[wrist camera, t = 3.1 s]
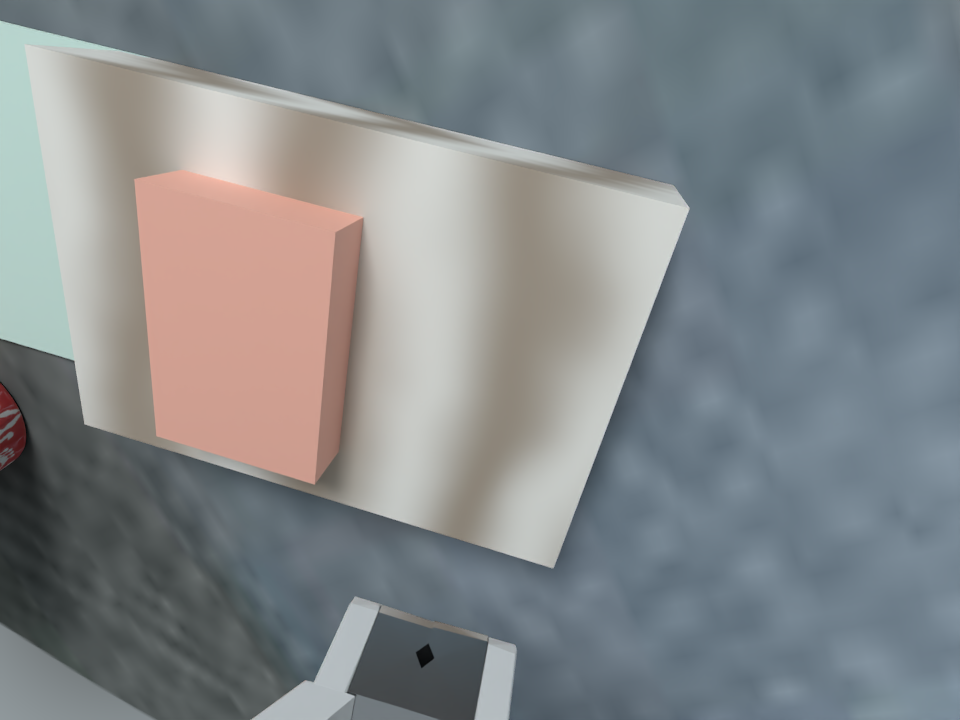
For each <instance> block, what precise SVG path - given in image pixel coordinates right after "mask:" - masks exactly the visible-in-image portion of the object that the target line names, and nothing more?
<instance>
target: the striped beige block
mask: <svg viewBox="0 0 960 720" xmlns="http://www.w3.org/2000/svg"><path fill="white" fill-rule="evenodd" d="M24 45H25V51H26V58H27V64H28V70H29V77H30V83H31V89H32V96H33V102H34V108H35V115H36V121H37V127H38V133H39V140H40V146H41V152H42V159H43V165H44V171H45V178H46V184H47V190H48V197H49V203H50V209H51V215H52V222H53V228H54V234H55V241H56V247H57V253H58V260H59V266H60V272H61V279H62V285H63V291H64V297H65V304H66V310H67V316H68V323H69V329H70V335H71V342H72V348H73V354H74V361H75V367H76V373H77V379H78V386H79V392H80V398H81V405H82V411H83V417H84V424H86V425H89V426H92V427H95V428H99V429H102V430H105V431H108V432H112V433H115V434H118V435H121V436H125V437H128V438H131V439H134V440H138V441H141V442H144V443H147V444H151V445H154V446H157V447H160V448H164V449H167V450H170V451H173V452H177V453H180V454H183V455H186V456H190V457H193V458H196V459H199V460H202V461H206V462H209V463H212V464H215V465H219V466H222V467H225V468H228V469H232V470H235V471H238V472H241V473H245V474H248V475H251V476H254V477H258V478H261V479H264V480H267V481H271V482H274V483H277V484H280V485H284V486H287V487H290V488H293V489H297V490H300V491H303V492H306V493H310V494H313V495H316V496H319V497H323V498H326V499H329V500H332V501H336V502H339V503H342V504H345V505H349V506H352V507H355V508H358V509H362V510H365V511H368V512H371V513H375V514H378V515H381V516H384V517H388V518H391V519H394V520H397V521H401V522H404V523H407V524H410V525H414V526H417V527H420V528H423V529H427V530H430V531H433V532H436V533H440V534H443V535H446V536H449V537H453V538H456V539H459V540H462V541H466V542H469V543H472V544H475V545H479V546H482V547H485V548H488V549H492V550H495V551H498V552H501V553H505V554H508V555H511V556H514V557H518V558H521V559H524V560H527V561H531V562H534V563H537V564H540V565H544V566H547V567H550V568H554V566H555V563H556V560H557V558H558V555H559V552H560V550H561V547H562V544H563V542H564V539H565V537H566V534H567V531H568V529H569V526H570V523H571V521H572V518H573V515H574V513H575V510H576V507H577V505H578V502H579V500H580V497H581V494H582V492H583V489H584V486H585V484H586V481H587V478H588V476H589V473H590V470H591V468H592V465H593V462H594V460H595V457H596V455H597V452H598V449H599V447H600V444H601V441H602V439H603V436H604V433H605V431H606V428H607V425H608V423H609V420H610V418H611V415H612V412H613V410H614V407H615V404H616V402H617V399H618V396H619V394H620V391H621V388H622V386H623V383H624V380H625V378H626V375H627V373H628V370H629V367H630V365H631V362H632V359H633V357H634V354H635V351H636V349H637V346H638V343H639V341H640V338H641V336H642V333H643V330H644V328H645V325H646V322H647V320H648V317H649V314H650V312H651V309H652V306H653V304H654V301H655V298H656V296H657V293H658V291H659V288H660V285H661V283H662V280H663V277H664V275H665V272H666V269H667V267H668V264H669V261H670V259H671V256H672V254H673V251H674V248H675V246H676V243H677V240H678V238H679V235H680V232H681V230H682V227H683V224H684V222H685V219H686V216H687V214H688V211H689V209H690V208H689V207H688V205H687V204H686V203H685V201H684V200H683V198H682V197H681V195H680V194H679V192H678V191H677V190H676V188H675V187H674V185H670V184H666V183H662V182H658V181H654V180H650V179H646V178H642V177H638V176H633V175H629V174H625V173H621V172H617V171H613V170H609V169H605V168H601V167H597V166H592V165H588V164H584V163H580V162H576V161H572V160H568V159H564V158H560V157H556V156H552V155H547V154H543V153H539V152H535V151H531V150H527V149H523V148H519V147H515V146H511V145H506V144H502V143H498V142H494V141H490V140H486V139H482V138H478V137H474V136H470V135H465V134H461V133H457V132H453V131H449V130H445V129H441V128H437V127H433V126H429V125H425V124H420V123H416V122H412V121H408V120H404V119H400V118H396V117H392V116H388V115H384V114H379V113H375V112H371V111H367V110H363V109H359V108H355V107H351V106H347V105H343V104H338V103H334V102H330V101H326V100H322V99H318V98H314V97H310V96H306V95H302V94H298V93H293V92H289V91H285V90H281V89H277V88H273V87H269V86H265V85H261V84H257V83H252V82H248V81H244V80H240V79H236V78H232V77H228V76H224V75H220V74H216V73H211V72H207V71H203V70H199V69H195V68H191V67H187V66H183V65H179V64H175V63H171V62H166V61H162V60H158V59H154V58H148V57H141V56H137V55H133V54H129V53H125V52H121V51H112V50H98V49H85V48H71V47H58V46H44V45H31V44H24ZM178 170H185V171H189V172H192V173H196V174H200V175H204V176H208V177H212V178H215V179H219V180H223V181H227V182H231V183H235V184H238V185H242V186H246V187H250V188H254V189H257V190H261V191H265V192H269V193H273V194H277V195H280V196H284V197H288V198H292V199H296V200H300V201H303V202H307V203H311V204H315V205H319V206H323V207H326V208H330V209H334V210H338V211H342V212H346V213H349V214H353V215H357V216H361V217H363V227H362V236H361V246H360V255H359V265H358V274H357V284H356V293H355V303H354V312H353V322H352V331H351V341H350V350H349V360H348V369H347V379H346V389H345V398H344V408H343V417H342V427H341V436H340V446H339V452H338V453H337V455H336V456H335V457H334V459H333V460H332V462H331V463H330V464H329V466H328V467H327V468H326V470H325V471H324V472H323V474H322V475H321V477H320V478H319V479H318V481H317V482H316V483H315V485H314V484H311V483H308V482H304V481H301V480H298V479H295V478H291V477H288V476H285V475H282V474H278V473H275V472H272V471H269V470H265V469H262V468H259V467H255V466H252V465H249V464H246V463H242V462H239V461H236V460H233V459H229V458H226V457H223V456H220V455H216V454H213V453H210V452H206V451H203V450H200V449H197V448H193V447H190V446H187V445H184V444H180V443H177V442H174V441H171V440H167V439H164V438H161V437H157V436H156V426H155V414H154V403H153V391H152V380H151V368H150V356H149V345H148V333H147V321H146V310H145V298H144V286H143V275H142V263H141V252H140V240H139V228H138V217H137V205H136V193H135V182H134V179H137V178H142V177H147V176H152V175H158V174H163V173H168V172H173V171H178Z"/></svg>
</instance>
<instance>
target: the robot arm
mask: <svg viewBox="0 0 960 720" xmlns="http://www.w3.org/2000/svg"><path fill="white" fill-rule="evenodd" d="M516 656H517V650H516V645H515V644H511V643H508V642H504V641H501V640H497V639H494V638H490V637H488V636H487V635H483V634H480V633H476V632H473V631H469V630H465V629H462V628H458V627H455V626H451V625H448V624H444V623H441V622H437V621H435V622H433V621H430V620H427V619H424V618H421V617H418V616H415V615H412V614H409V613H406V612H402V611H399V610H396V609H393V608H390V607H387V606H384V605H381V604H378V603H375V602H372V601H368V600H365V599H362V598H358V597H354V599H353V600H352V602H351V603H350V604H349V606H348V609H347V611H346V613H345V615H344V617H343V620H342V622H341V624H340V626H339V628H338V630H337V633H336V635H335V637H334V639H333V641H332V644H331V646H330V648H329V650H328V652H327V654H326V657H325V659H324V661H323V663H322V665H321V668H320V670H319V672H318V674H317V676H316V679H315V681H314V682H310V681H307V680H305V681H304V682H302V683H301V684H299V685H298V686H297V687H295V688H294V689H293V690H291V691H290V692H288V693H287V694H286V695H284V696H283V697H282V698H280V699H279V700H277V701H276V702H275V703H273V704H272V705H271V706H269V707H268V708H267V709H265V710H264V711H262V712H261V713H260V714H258V715H257V716H256V717H254V718H253V719H251V720H509V715H510V706H511V698H512V689H513V681H514V672H515V664H516Z"/></svg>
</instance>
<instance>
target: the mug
mask: <svg viewBox="0 0 960 720" xmlns="http://www.w3.org/2000/svg"><path fill="white" fill-rule="evenodd" d="M25 443H26V429H25V424H24V421H23V418H22V415H21V413H20V410H19V408H18V407H17V405H16V403H15V401H14V400H13V398H12V397H11V395H10V394H9V393H8V391H7V390H6V389H5V388H4V386H3V385H2V384H1V383H0V471H1V470H2V469H3V468H5V467H6V466H8V465H9V464H10V463H12V462H13V461H14V460H15V459H17V458H18V457H19V456H20V454H21V453H22V451H23V449H24V447H25Z"/></svg>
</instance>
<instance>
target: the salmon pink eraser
mask: <svg viewBox="0 0 960 720" xmlns="http://www.w3.org/2000/svg"><path fill="white" fill-rule="evenodd" d="M134 182H135V193H136V205H137V217H138V228H139V240H140V252H141V263H142V275H143V286H144V298H145V310H146V321H147V333H148V345H149V356H150V368H151V380H152V391H153V403H154V414H155V426H156V436H157V437H161V438H164V439H167V440H171V441H174V442H177V443H180V444H184V445H187V446H190V447H193V448H197V449H200V450H203V451H206V452H210V453H213V454H216V455H220V456H223V457H226V458H229V459H233V460H236V461H239V462H242V463H246V464H249V465H252V466H255V467H259V468H262V469H265V470H269V471H272V472H275V473H278V474H282V475H285V476H288V477H291V478H295V479H298V480H301V481H304V482H308V483H311V484H314V485H315V483H316V482H317V481H318V479H319V478H320V477H321V475H322V474H323V472H324V471H325V470H326V468H327V467H328V466H329V464H330V463H331V462H332V460H333V459H334V457H335V456H336V455H337V453H338V452H339V446H340V436H341V427H342V417H343V408H344V398H345V389H346V379H347V369H348V360H349V350H350V341H351V331H352V322H353V312H354V303H355V293H356V284H357V274H358V265H359V255H360V246H361V236H362V227H363V217H361V216H357V215H353V214H349V213H346V212H342V211H338V210H334V209H330V208H326V207H323V206H319V205H315V204H311V203H307V202H303V201H300V200H296V199H292V198H288V197H284V196H280V195H277V194H273V193H269V192H265V191H261V190H257V189H254V188H250V187H246V186H242V185H238V184H235V183H231V182H227V181H223V180H219V179H215V178H212V177H208V176H204V175H200V174H196V173H192V172H189V171H185V170H178V171H173V172H168V173H163V174H158V175H152V176H147V177H142V178H137V179H134Z"/></svg>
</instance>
